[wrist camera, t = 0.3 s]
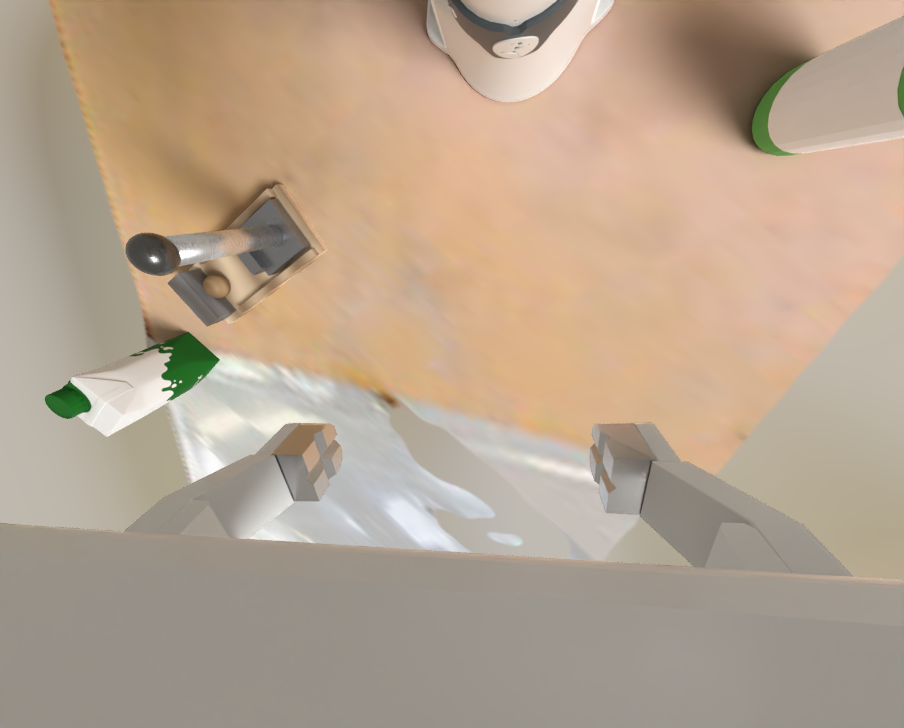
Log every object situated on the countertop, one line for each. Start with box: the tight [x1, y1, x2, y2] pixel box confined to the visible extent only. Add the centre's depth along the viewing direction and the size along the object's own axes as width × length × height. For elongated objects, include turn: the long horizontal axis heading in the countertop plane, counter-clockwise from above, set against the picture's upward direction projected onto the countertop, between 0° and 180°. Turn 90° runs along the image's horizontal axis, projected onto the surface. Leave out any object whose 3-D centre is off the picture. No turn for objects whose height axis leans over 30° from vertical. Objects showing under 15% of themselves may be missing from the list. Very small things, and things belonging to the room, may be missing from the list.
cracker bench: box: [168, 184, 329, 326], centre depth 49 cm, size 24×10×6 cm, turn 122°
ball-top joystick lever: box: [126, 199, 311, 276], centre depth 38 cm, size 9×7×21 cm
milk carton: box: [45, 332, 219, 437], centre depth 54 cm, size 9×9×20 cm
